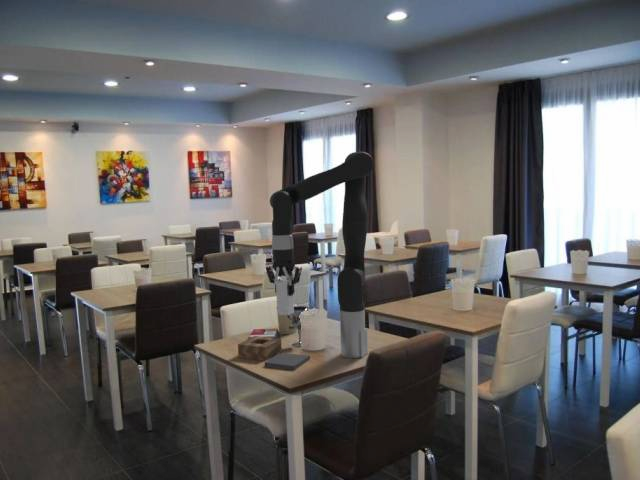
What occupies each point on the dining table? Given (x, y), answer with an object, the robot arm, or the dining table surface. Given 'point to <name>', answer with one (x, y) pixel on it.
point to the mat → (287, 361)
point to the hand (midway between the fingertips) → (284, 294)
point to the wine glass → (297, 321)
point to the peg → (284, 298)
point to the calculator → (265, 333)
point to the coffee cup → (286, 324)
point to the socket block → (259, 348)
